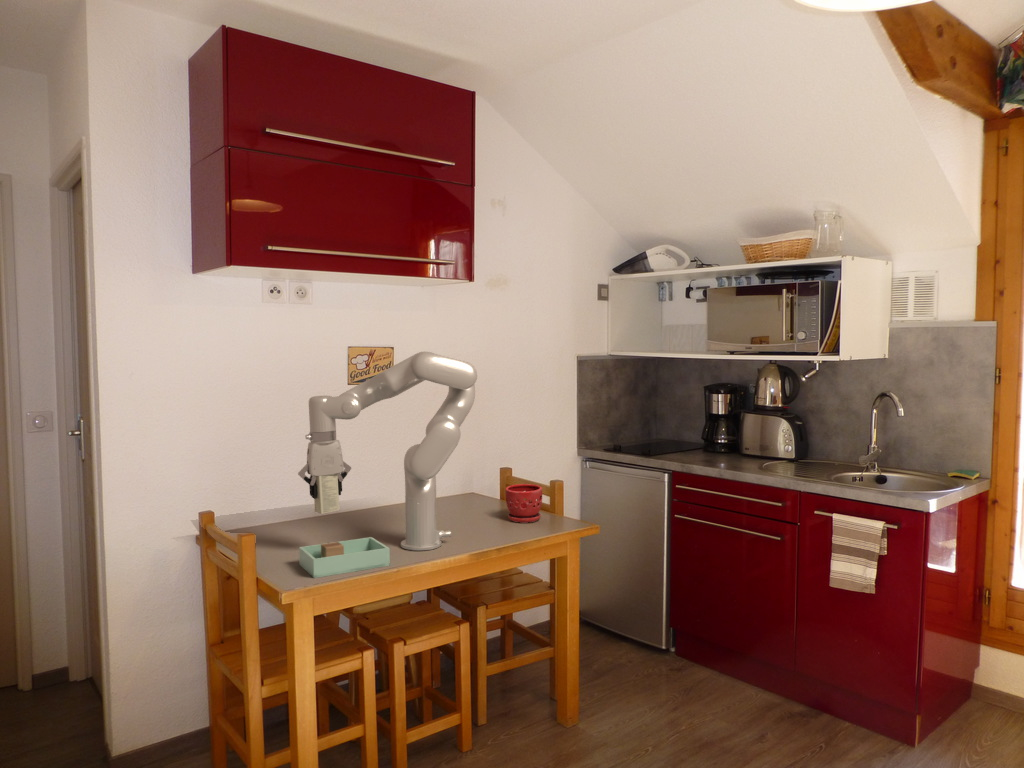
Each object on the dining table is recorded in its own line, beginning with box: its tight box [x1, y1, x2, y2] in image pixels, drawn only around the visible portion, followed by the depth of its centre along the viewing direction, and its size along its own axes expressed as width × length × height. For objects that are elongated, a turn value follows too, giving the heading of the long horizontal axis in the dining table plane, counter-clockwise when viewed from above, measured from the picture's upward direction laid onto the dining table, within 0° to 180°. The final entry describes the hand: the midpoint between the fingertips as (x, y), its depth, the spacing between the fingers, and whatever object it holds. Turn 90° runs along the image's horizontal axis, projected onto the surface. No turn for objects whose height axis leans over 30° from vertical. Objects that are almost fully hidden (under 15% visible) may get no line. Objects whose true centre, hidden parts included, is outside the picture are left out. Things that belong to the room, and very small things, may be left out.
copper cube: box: [320, 541, 344, 558], centre depth 211 cm, size 5×5×5 cm
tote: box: [298, 536, 391, 579], centre depth 211 cm, size 22×15×5 cm
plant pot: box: [504, 483, 543, 524], centre depth 264 cm, size 13×13×12 cm
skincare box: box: [313, 474, 340, 515], centre depth 223 cm, size 6×4×12 cm
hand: (326, 495), depth 223 cm, fingers closed on skincare box, 6 cm apart
